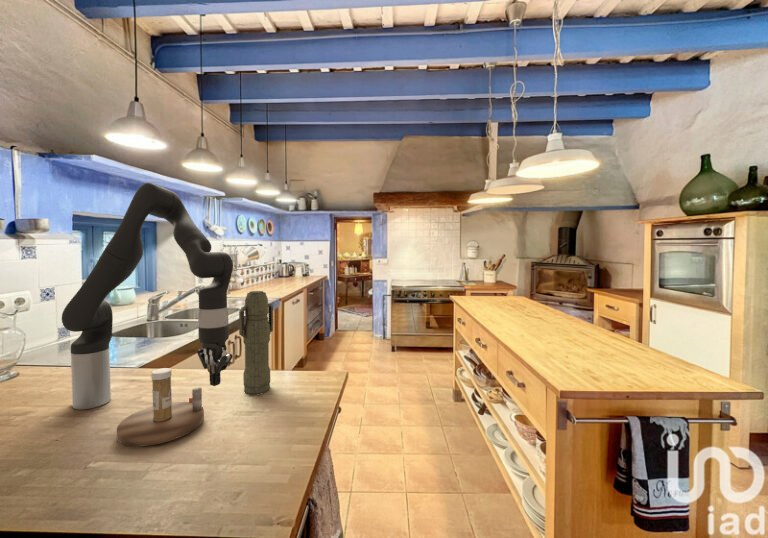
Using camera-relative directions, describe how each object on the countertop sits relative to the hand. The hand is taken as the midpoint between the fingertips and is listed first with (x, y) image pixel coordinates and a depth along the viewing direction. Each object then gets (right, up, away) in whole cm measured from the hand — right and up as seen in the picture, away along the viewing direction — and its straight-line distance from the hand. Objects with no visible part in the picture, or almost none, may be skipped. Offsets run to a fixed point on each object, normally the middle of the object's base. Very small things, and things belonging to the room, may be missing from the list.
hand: (215, 384), depth 95 cm
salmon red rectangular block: (-12, -11, +10) cm, 19 cm away
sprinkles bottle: (-14, -9, -2) cm, 16 cm away
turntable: (-14, -12, -2) cm, 18 cm away
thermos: (+2, -11, +25) cm, 27 cm away
